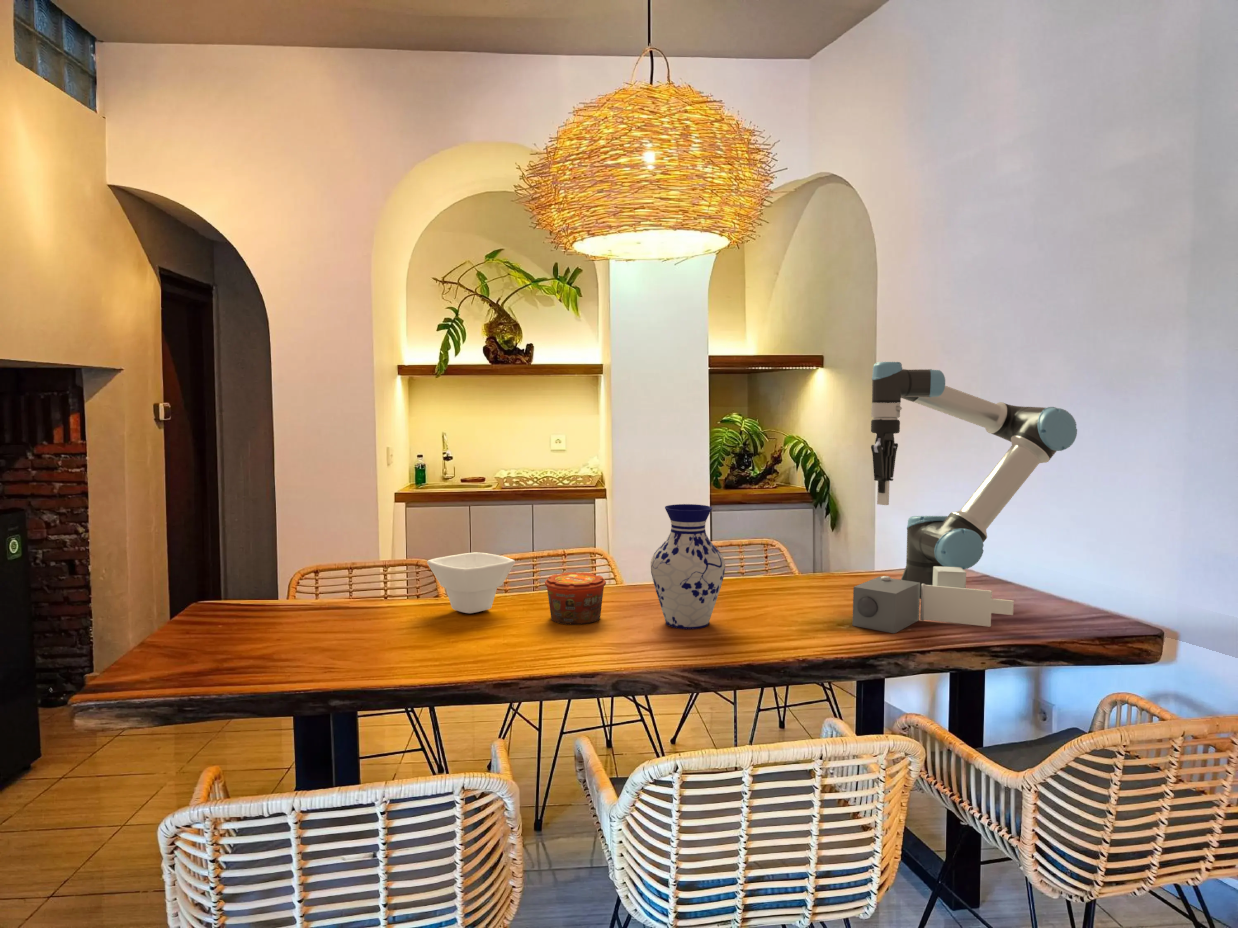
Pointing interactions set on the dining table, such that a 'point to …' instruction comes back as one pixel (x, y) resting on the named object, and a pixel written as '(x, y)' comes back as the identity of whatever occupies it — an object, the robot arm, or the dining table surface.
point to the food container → (575, 597)
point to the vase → (687, 569)
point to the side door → (961, 605)
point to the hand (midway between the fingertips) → (882, 504)
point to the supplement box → (949, 577)
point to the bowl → (471, 578)
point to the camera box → (886, 604)
